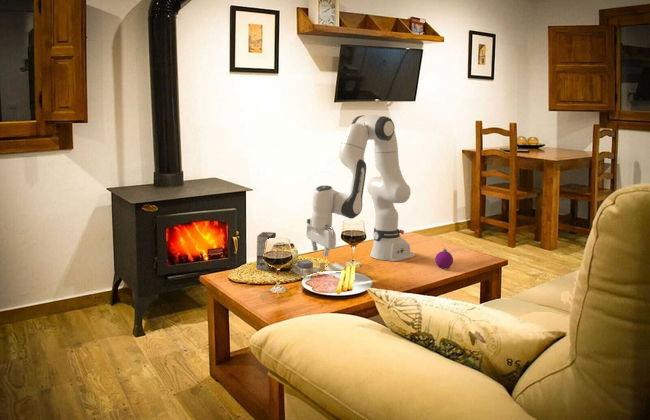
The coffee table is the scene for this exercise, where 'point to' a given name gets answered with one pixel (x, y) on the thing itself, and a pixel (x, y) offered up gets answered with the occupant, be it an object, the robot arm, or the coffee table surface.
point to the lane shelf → (316, 269)
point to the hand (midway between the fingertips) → (320, 253)
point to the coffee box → (260, 249)
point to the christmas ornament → (444, 259)
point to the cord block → (310, 264)
